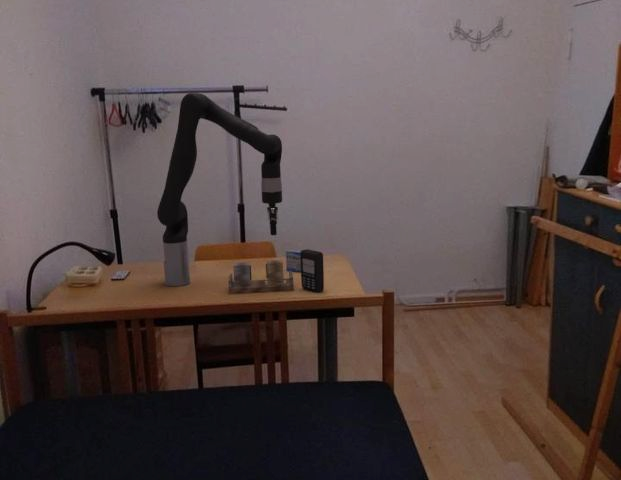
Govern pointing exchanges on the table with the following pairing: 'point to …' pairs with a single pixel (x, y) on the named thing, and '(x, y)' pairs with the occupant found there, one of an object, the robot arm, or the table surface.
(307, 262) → the card reader
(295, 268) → the medicine box
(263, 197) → the robot arm
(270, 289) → the rail
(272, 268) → the finger block
